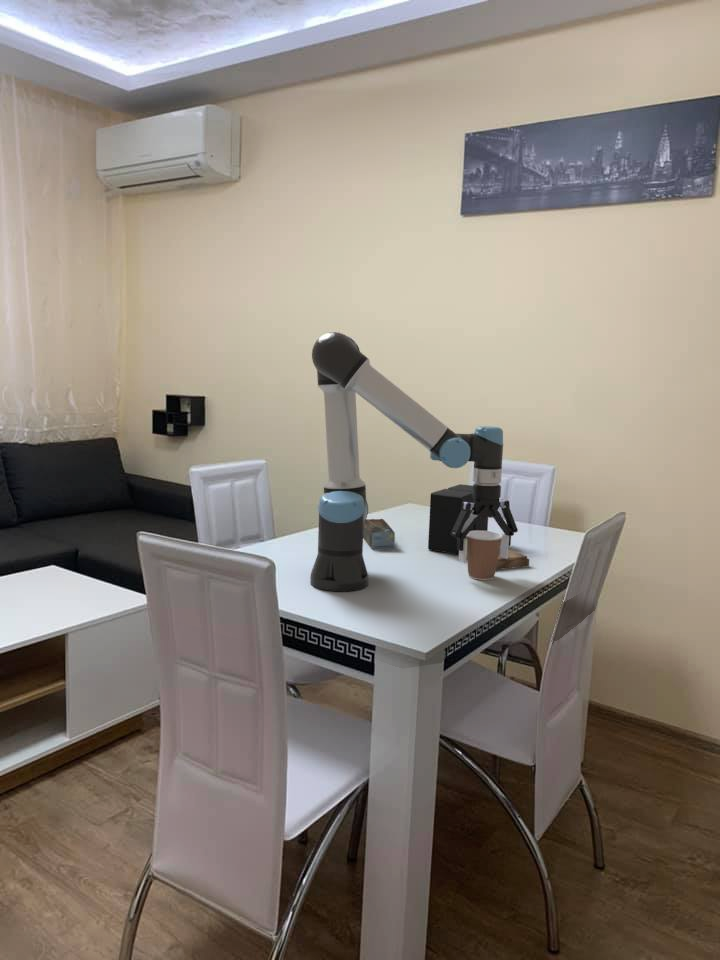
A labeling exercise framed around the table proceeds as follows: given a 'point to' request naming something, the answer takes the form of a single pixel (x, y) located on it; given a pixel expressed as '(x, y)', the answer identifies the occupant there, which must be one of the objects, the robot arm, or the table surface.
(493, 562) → the coffee cup
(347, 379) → the robot arm
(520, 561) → the stand
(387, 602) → the table surface
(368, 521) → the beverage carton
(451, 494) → the speaker
